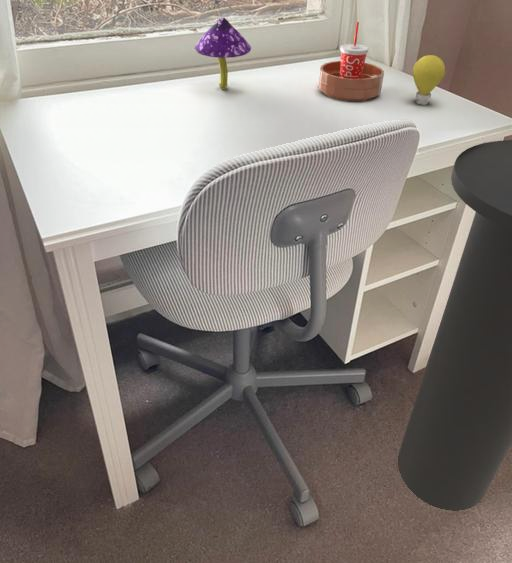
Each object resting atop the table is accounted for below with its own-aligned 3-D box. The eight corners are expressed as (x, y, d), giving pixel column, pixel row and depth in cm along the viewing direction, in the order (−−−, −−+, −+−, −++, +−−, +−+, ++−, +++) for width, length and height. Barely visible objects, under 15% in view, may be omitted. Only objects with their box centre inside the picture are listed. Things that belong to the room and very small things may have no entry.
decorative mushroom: (203, 78, 128) (201, 9, 119) (254, 82, 127) (256, 13, 118) (189, 95, 119) (186, 22, 110) (245, 100, 117) (246, 26, 108)
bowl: (392, 93, 123) (396, 71, 120) (354, 107, 115) (357, 83, 112) (344, 78, 131) (347, 57, 128) (305, 90, 123) (307, 68, 120)
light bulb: (401, 98, 121) (410, 52, 114) (427, 96, 122) (437, 50, 116) (415, 109, 116) (425, 60, 109) (443, 106, 117) (454, 59, 111)
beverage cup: (331, 89, 122) (338, 22, 113) (342, 82, 126) (350, 17, 118) (355, 94, 119) (365, 27, 111) (366, 87, 124) (376, 21, 115)
